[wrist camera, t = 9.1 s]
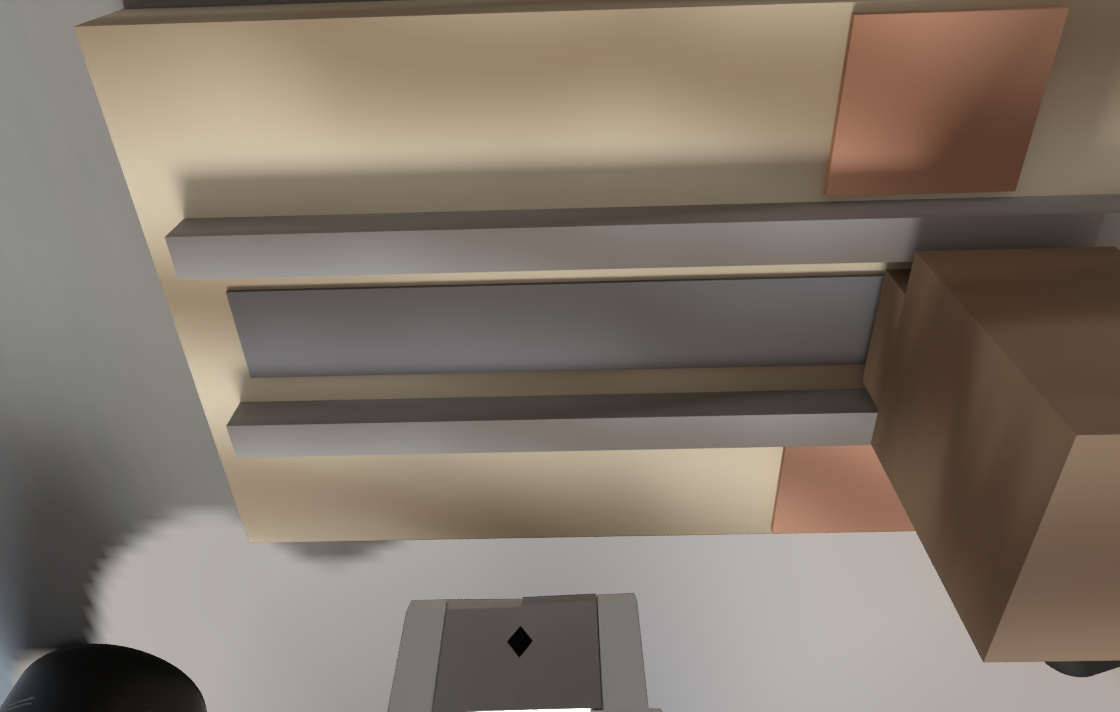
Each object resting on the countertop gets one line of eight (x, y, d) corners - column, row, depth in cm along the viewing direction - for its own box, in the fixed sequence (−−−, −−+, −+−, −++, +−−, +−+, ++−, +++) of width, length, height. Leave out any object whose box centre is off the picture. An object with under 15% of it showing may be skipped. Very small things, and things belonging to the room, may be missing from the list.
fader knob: (894, 227, 17) (1076, 434, 11) (1082, 223, 17) (1370, 429, 11) (854, 413, 20) (983, 662, 14) (1016, 410, 20) (1217, 658, 14)
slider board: (122, 9, 17) (44, 36, 14) (1258, -28, 16) (1384, -6, 14) (270, 495, 24) (236, 569, 22) (1052, 480, 24) (1110, 554, 21)
